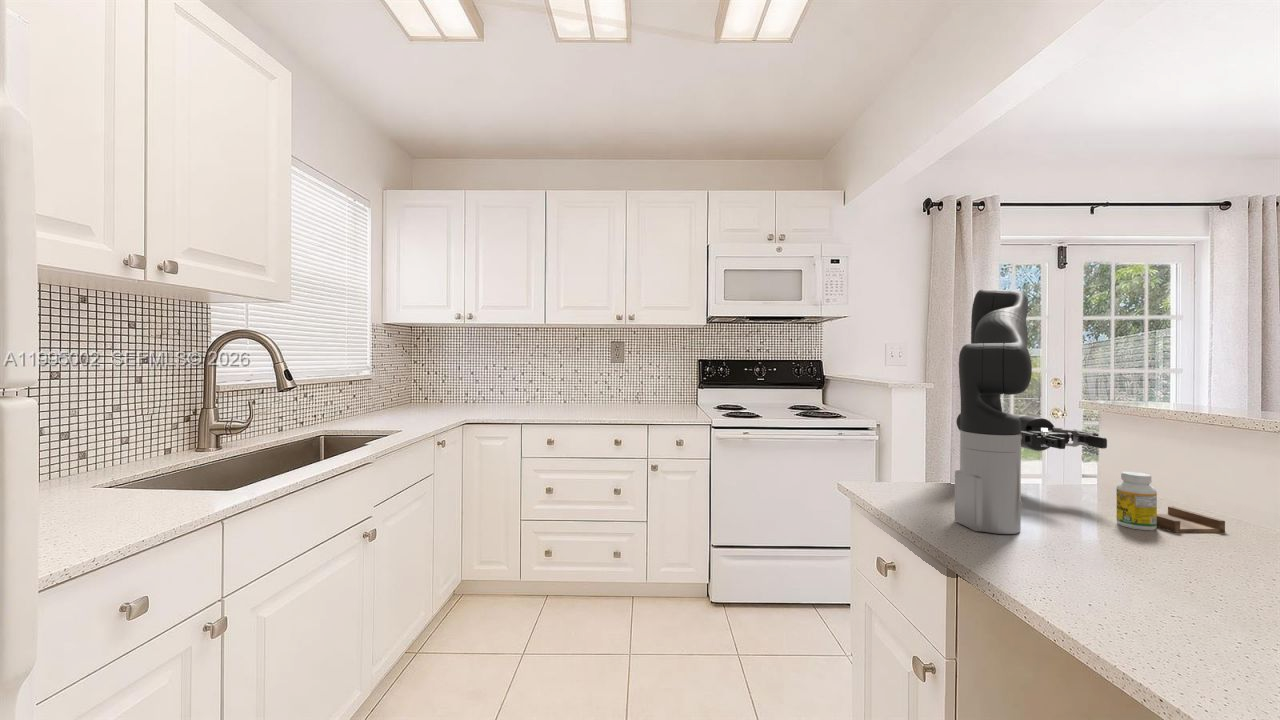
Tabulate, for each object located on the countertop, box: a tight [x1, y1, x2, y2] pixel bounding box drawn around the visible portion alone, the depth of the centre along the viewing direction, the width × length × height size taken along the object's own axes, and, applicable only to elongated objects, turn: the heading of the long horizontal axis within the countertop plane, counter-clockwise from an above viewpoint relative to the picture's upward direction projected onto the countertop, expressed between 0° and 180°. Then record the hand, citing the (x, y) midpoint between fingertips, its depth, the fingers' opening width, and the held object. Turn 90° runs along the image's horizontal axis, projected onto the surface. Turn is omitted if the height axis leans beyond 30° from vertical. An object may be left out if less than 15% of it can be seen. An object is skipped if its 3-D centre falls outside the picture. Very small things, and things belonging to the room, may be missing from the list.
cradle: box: [1157, 506, 1226, 533], centre depth 98 cm, size 9×9×2 cm
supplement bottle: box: [1116, 471, 1158, 532], centre depth 97 cm, size 5×5×10 cm
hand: (1084, 443), depth 108 cm, fingers open, 8 cm apart
